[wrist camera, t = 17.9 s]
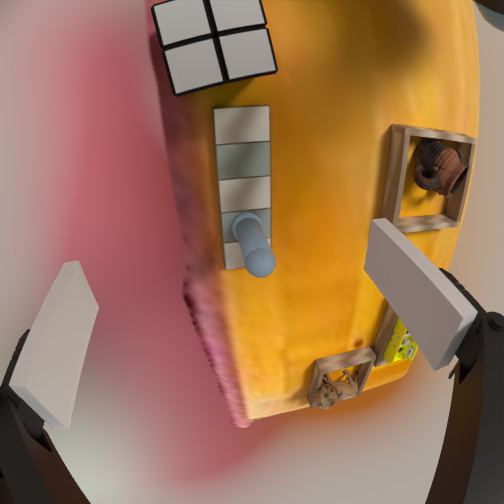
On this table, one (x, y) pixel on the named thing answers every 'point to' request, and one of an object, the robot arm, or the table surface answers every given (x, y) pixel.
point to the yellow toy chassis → (400, 344)
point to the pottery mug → (448, 163)
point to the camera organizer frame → (384, 335)
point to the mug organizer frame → (398, 173)
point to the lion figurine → (335, 390)
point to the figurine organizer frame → (339, 362)
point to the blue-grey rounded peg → (253, 244)
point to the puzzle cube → (213, 42)
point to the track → (242, 171)
